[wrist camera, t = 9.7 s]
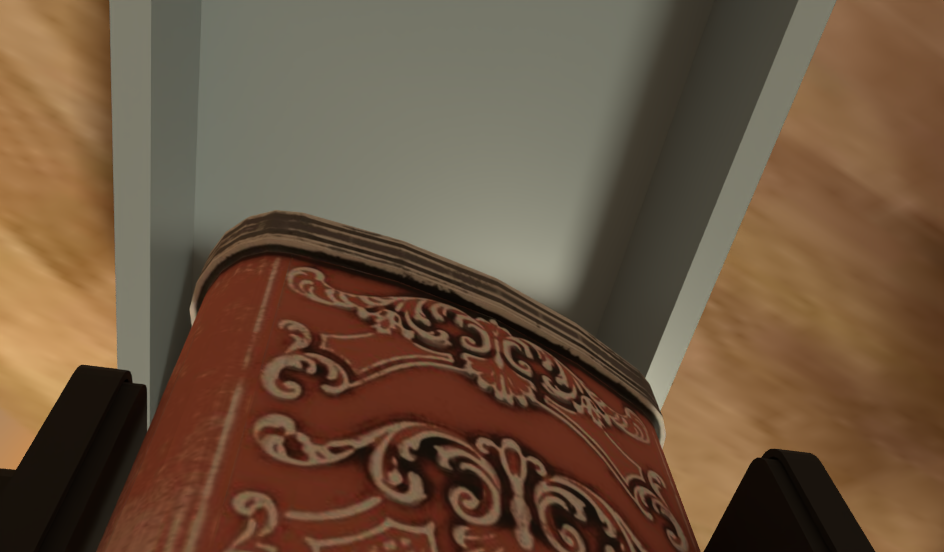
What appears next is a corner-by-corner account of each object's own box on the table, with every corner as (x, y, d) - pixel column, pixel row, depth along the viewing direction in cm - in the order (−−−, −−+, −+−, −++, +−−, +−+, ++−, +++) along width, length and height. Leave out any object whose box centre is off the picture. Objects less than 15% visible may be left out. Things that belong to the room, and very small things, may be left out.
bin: (588, 402, 28) (617, 509, 24) (168, 348, 26) (119, 455, 22) (802, -181, 19) (911, -176, 15) (181, -343, 17) (100, -390, 13)
